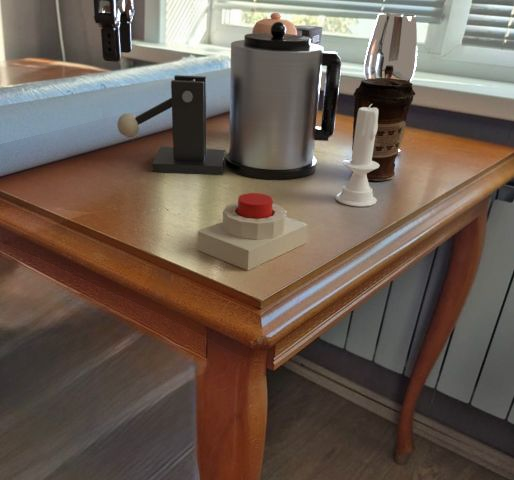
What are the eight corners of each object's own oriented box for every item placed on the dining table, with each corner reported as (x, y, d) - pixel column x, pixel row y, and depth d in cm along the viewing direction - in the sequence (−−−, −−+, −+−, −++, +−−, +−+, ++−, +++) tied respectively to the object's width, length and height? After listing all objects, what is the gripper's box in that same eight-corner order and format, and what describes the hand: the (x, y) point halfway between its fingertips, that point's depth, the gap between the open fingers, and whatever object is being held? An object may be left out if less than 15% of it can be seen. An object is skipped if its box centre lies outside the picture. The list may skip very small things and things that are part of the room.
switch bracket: (152, 172, 86) (147, 82, 80) (160, 154, 94) (157, 71, 88) (222, 174, 87) (223, 86, 80) (225, 157, 94) (226, 75, 88)
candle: (364, 192, 83) (377, 98, 76) (384, 205, 79) (399, 108, 72) (328, 195, 81) (339, 100, 75) (347, 208, 77) (360, 109, 71)
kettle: (223, 177, 86) (225, 24, 75) (227, 151, 97) (229, 15, 87) (334, 182, 86) (352, 30, 76) (325, 155, 97) (339, 20, 87)
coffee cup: (410, 185, 86) (428, 87, 79) (354, 185, 85) (367, 86, 78) (389, 167, 94) (403, 75, 87) (337, 167, 92) (347, 74, 85)
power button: (256, 223, 62) (257, 207, 61) (230, 214, 64) (230, 198, 63) (278, 214, 64) (279, 198, 63) (252, 206, 66) (253, 190, 65)
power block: (247, 271, 61) (249, 233, 59) (197, 250, 64) (197, 214, 62) (306, 243, 67) (309, 208, 65) (258, 225, 71) (259, 192, 69)
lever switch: (123, 143, 87) (111, 122, 86) (127, 137, 90) (115, 117, 88) (202, 101, 84) (191, 78, 82) (204, 96, 87) (193, 74, 85)
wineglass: (373, 142, 106) (392, 11, 95) (410, 152, 101) (434, 16, 90) (344, 149, 101) (360, 12, 90) (381, 160, 97) (403, 17, 86)
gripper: (91, -89, 80) (101, 48, 88) (62, -97, 68) (77, 62, 76) (148, -85, 80) (153, 51, 89) (130, -93, 68) (137, 66, 77)
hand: (118, 56), depth 83 cm, fingers open, 8 cm apart
